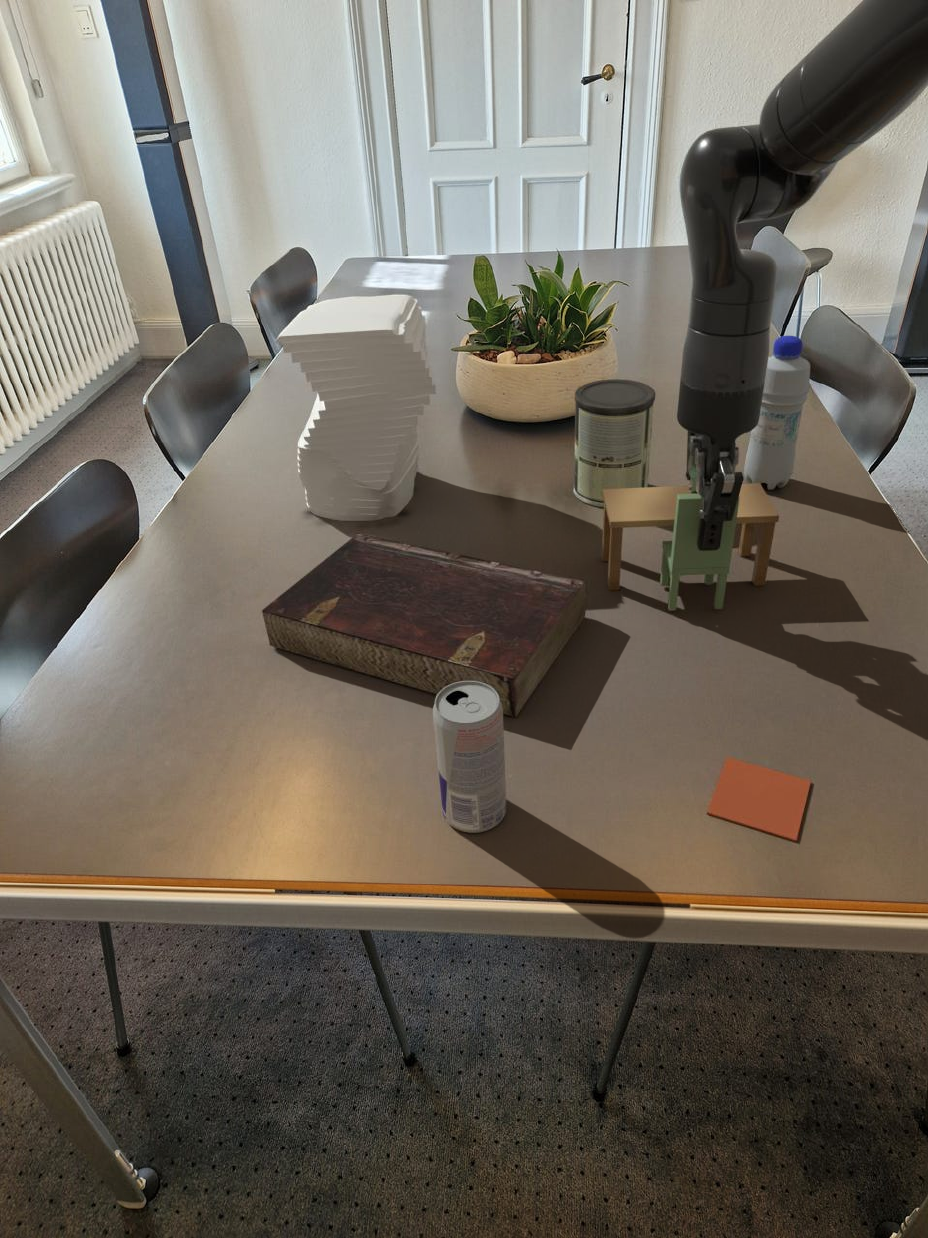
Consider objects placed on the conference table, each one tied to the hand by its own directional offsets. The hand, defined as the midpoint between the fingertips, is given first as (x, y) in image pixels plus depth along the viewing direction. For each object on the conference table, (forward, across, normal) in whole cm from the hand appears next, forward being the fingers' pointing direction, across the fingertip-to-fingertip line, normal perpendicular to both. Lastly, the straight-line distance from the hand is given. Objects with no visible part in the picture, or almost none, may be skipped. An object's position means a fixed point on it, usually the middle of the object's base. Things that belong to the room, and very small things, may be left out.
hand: (703, 536), depth 88 cm
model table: (+9, +8, 0) cm, 12 cm away
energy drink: (+9, -28, +24) cm, 38 cm away
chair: (+9, +2, 0) cm, 10 cm away
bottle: (+9, +30, -16) cm, 35 cm away
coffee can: (+9, +30, +6) cm, 32 cm away
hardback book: (+9, -2, +29) cm, 31 cm away
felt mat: (+9, -28, 0) cm, 29 cm away
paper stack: (+9, +33, +38) cm, 51 cm away
